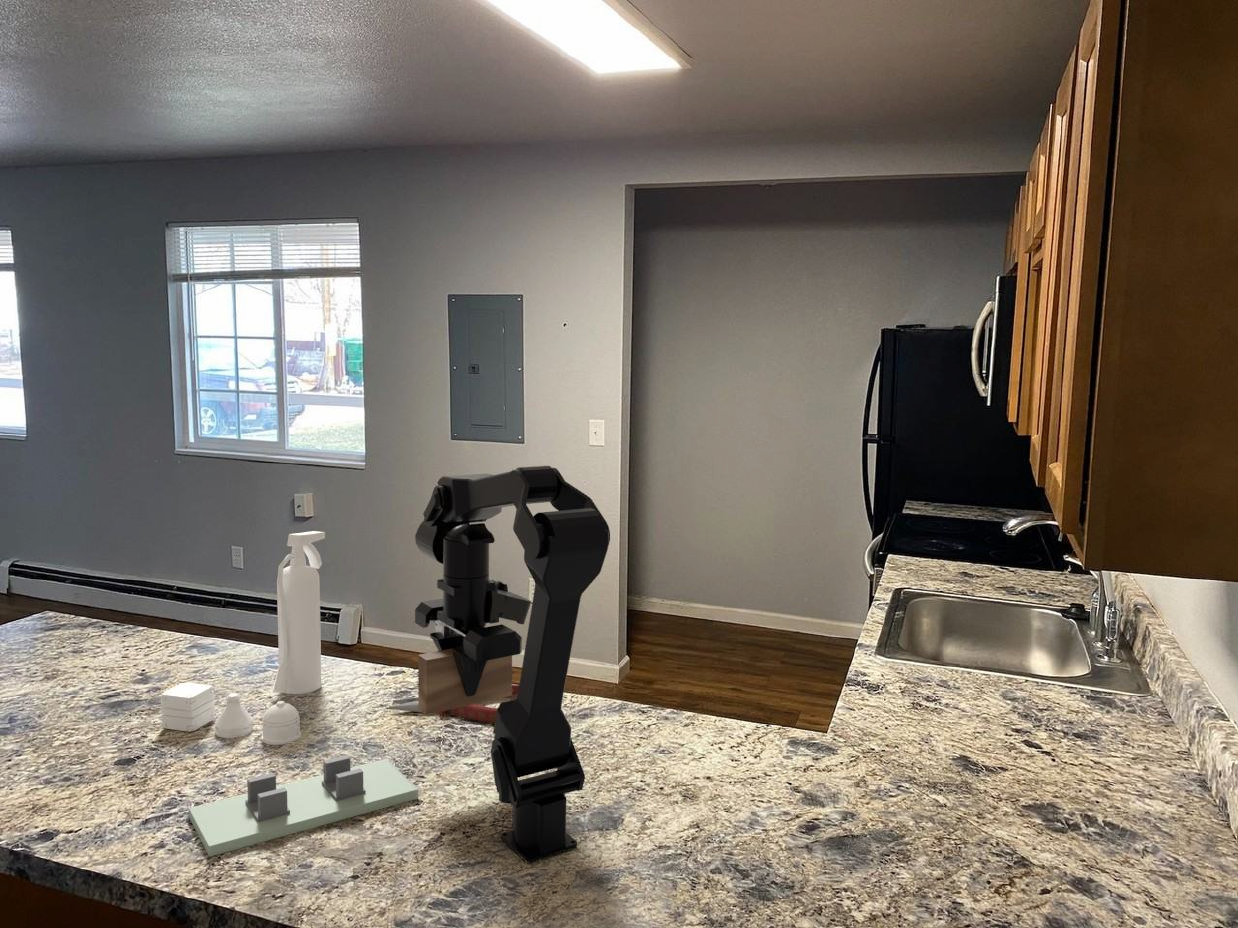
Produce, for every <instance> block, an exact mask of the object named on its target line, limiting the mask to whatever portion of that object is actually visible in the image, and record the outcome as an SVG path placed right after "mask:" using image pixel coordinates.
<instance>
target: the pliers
mask: <svg viewBox="0 0 1238 928" xmlns="http://www.w3.org/2000/svg"><path fill="white" fill-rule="evenodd" d="M518 690H519V684H512V696H508V697H503V698H502V699H516V698H517V696H518ZM392 703H393V704H395V705H391V706H389V710H396V711H404V712H405V711H406V712H416V713H423V712H422V711H421V710H420V709H418V697H417V696H416V697H409V698H408V697H407V698H402V699H394V700H392ZM497 709H498V707H490V706H484V705H480V704H472V705H468V706H464V707H459V708H455V709H450V710H446V711H441V712H438V716H439V715H440V716H439V717H442V716H443V717H444V716H446V715H450V714H452V716H456V717H459V716H460V718H463V717H464V718H463V719H468V720H472V721H476V720H478V721H477V722H480V721H481V723H486V722H487V724H494V723H496V719H497ZM447 713H448V714H447ZM445 714H446V715H445Z"/></svg>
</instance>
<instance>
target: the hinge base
mask: <svg viewBox="0 0 1238 928" xmlns="http://www.w3.org/2000/svg"><path fill="white" fill-rule="evenodd" d="M322 764H323V774H320V775H316V776H312V777H309V778H304V779H300V780H296V781H292V782H288V783H284V784H280V785H277V776H276V774H275V773H274V772H271V773H268V774H267V773H266V774H263V775H262V774H261V775H259V776H254V777H251V778H247V780H246V781H247V783H246V785H247V793H243V794H240V795H235V796H231V797H227V798H223V799H220V800H215V801H212V802H207V803H203V804H200V805H195V806H191V807H188V818H189V820H190V822H191V824H192V826H193V827H194V830H195V832H196V834H197V835H198V837H199V839H200V841H201V843H202V845H203V847H204V849H205V851H206V852H207V855H208V857H209V858H210V857H214V856H217V855H221V854H225V853H228V852H232V851H235V850H239V849H242V848H246V847H249V846H253V845H256V844H260V843H264V842H267V841H271V840H274V839H278V838H281V837H286V836H288V835H292V834H296V833H299V832H304V831H307V830H310V829H315V828H317V827H321V826H325V825H328V824H332V823H335V822H339V821H342V820H345V819H350V818H353V817H357V816H361V815H364V814H368V813H371V812H374V811H378V810H382V809H385V808H388V807H392V806H396V805H400V804H403V803H407V802H410V801H414V800H417V799H419V789H418V788H417V787H416V785H414V784H413V782H411V781H410V779H408V778H407V777H406V776H405V775H404V774H403V773H402V772H401V771H400V770H399V769H398V768H397V767H396V766H394V764H393V763H391V761H389V760H388V759H387V758H384V759H380V760H377V761H372V762H367V763H364V764H363V763H362V764H360V765H356V766H352V767H351V757H350V756H349V755H348V754H345V755H342V756H337V757H333V758H329V759H325V760H323V763H322Z"/></svg>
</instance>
